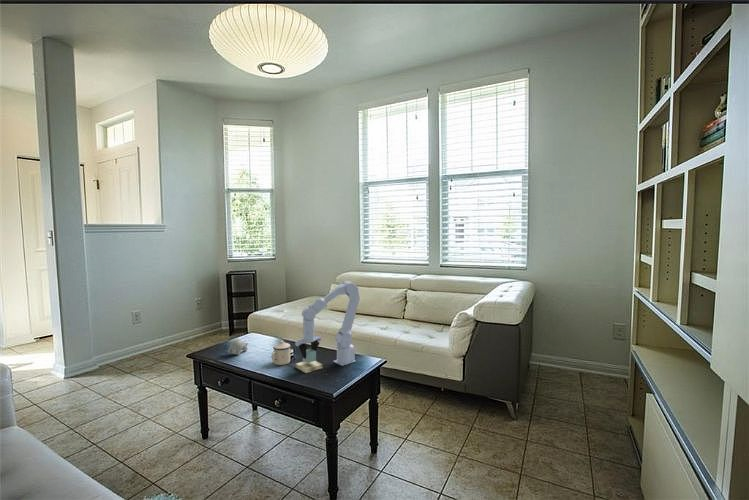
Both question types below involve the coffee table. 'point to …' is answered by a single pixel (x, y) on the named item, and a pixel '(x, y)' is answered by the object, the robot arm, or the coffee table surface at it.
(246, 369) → the coffee table surface
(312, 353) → the teal cube
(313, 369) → the maple base
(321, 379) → the coffee table surface
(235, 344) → the chubby cartoon animal
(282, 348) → the teacup with lid
